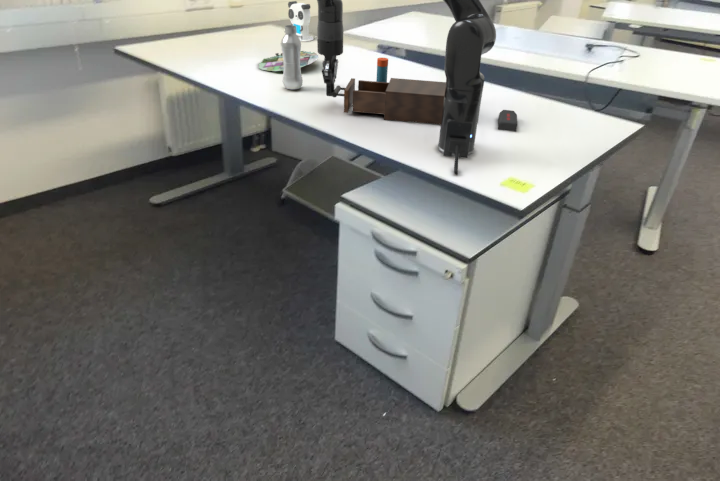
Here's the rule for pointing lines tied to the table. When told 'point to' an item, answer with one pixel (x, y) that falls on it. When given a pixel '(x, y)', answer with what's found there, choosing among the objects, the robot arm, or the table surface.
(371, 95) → the drawer
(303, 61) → the city model
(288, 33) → the plastic bottle
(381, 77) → the glue stick
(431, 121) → the cabinet
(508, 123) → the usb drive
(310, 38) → the panda figurine
